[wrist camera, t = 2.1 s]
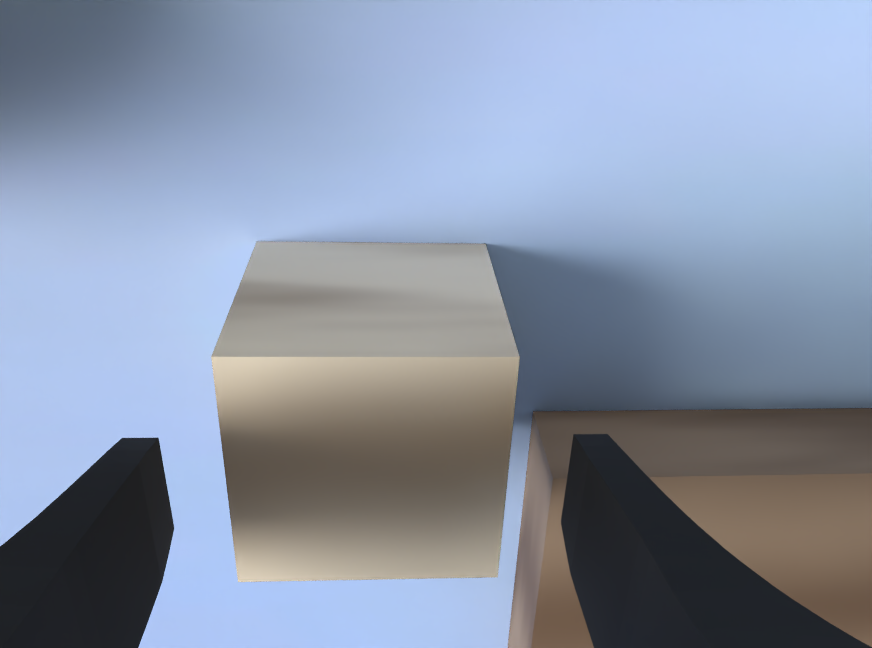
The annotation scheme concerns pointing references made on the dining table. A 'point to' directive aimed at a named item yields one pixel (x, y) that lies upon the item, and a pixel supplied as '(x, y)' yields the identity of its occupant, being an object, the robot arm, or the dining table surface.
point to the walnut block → (715, 505)
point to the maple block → (366, 411)
